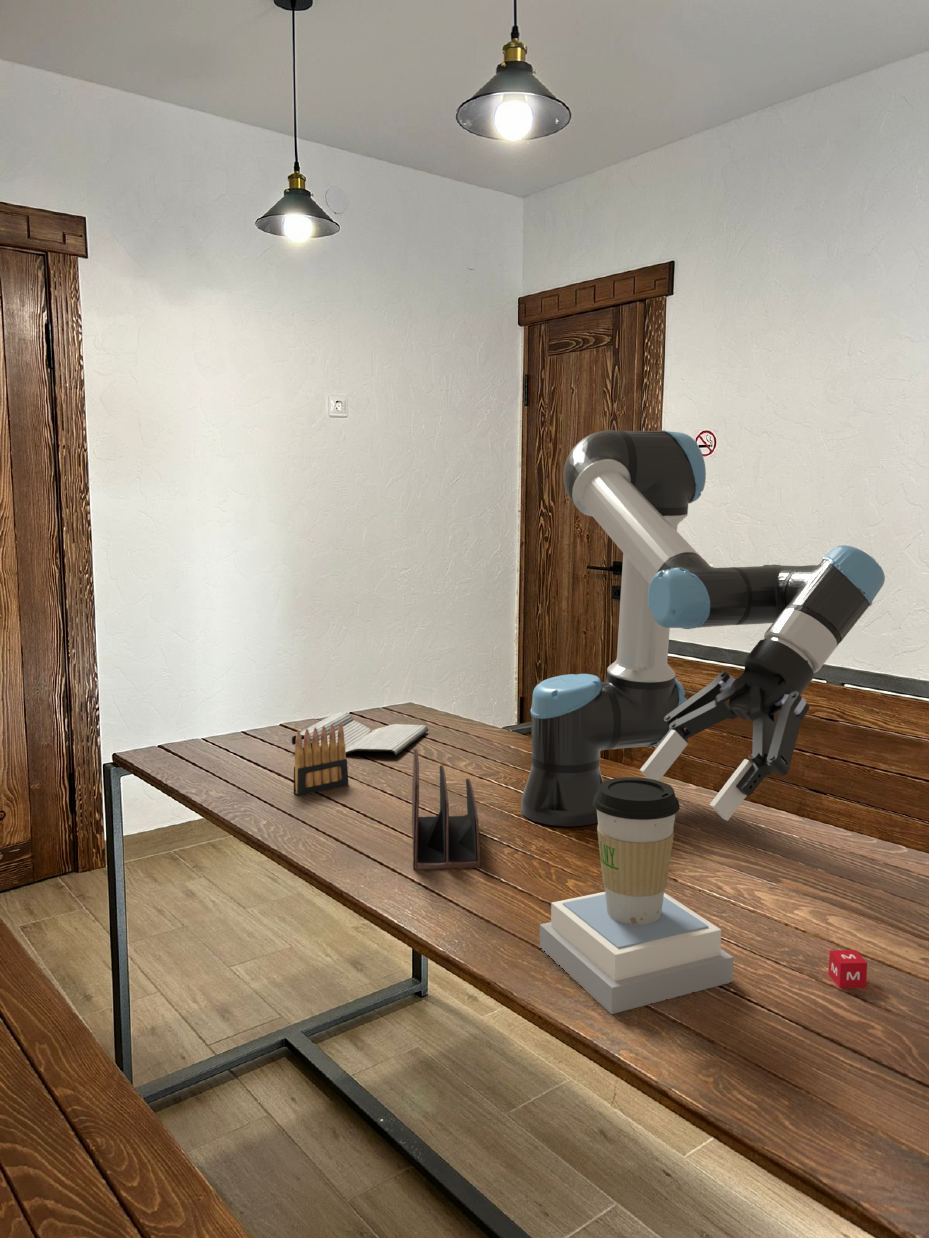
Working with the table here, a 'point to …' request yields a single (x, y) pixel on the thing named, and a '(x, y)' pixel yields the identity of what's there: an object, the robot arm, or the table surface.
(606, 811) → the coffee cup
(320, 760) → the ammunition clip
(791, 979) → the table surface
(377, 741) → the open book
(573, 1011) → the table surface
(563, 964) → the plinth
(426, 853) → the letter holder
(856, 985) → the red letter cube
